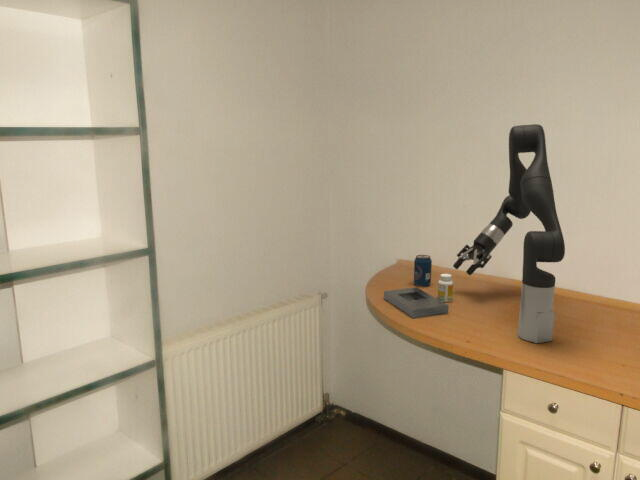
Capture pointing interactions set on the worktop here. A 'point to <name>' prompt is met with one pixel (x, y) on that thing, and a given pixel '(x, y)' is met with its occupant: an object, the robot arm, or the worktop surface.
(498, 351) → the worktop surface
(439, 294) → the supplement bottle
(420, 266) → the soda can
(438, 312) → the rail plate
